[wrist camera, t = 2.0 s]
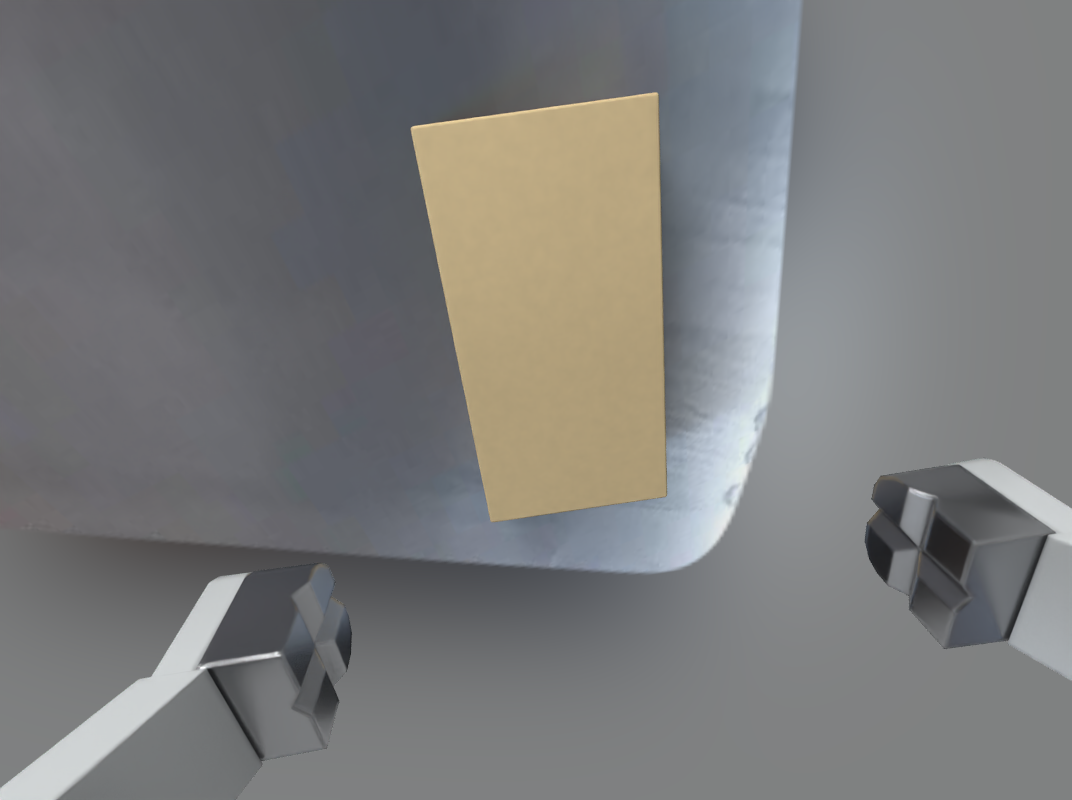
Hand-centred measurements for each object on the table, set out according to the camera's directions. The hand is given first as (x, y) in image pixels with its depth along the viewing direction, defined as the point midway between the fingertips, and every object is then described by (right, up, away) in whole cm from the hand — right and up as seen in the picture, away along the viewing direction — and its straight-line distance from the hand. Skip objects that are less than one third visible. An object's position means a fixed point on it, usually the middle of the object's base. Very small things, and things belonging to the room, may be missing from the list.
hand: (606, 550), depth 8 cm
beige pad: (-1, +5, +10) cm, 12 cm away
